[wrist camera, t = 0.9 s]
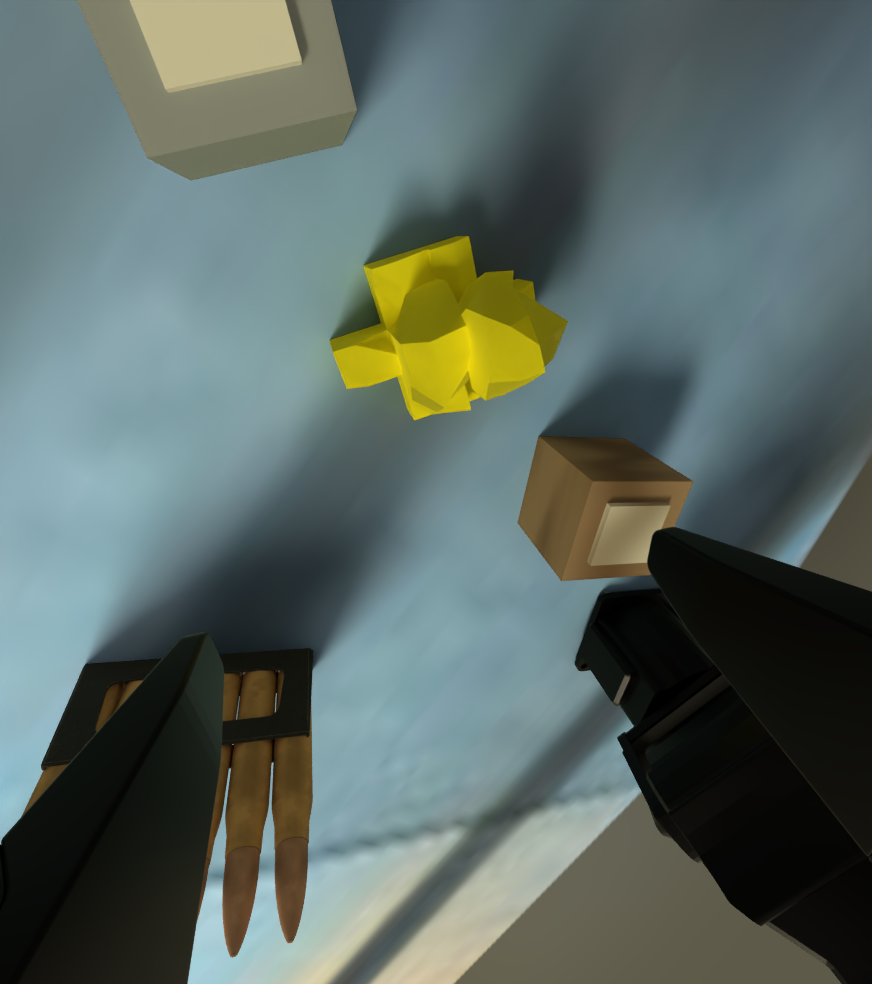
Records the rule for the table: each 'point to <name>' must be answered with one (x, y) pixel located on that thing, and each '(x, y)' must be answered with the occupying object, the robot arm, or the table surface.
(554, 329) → the crumpled paper
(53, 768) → the ammunition clip
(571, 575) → the walnut tagged block
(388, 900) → the table surface
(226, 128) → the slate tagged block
